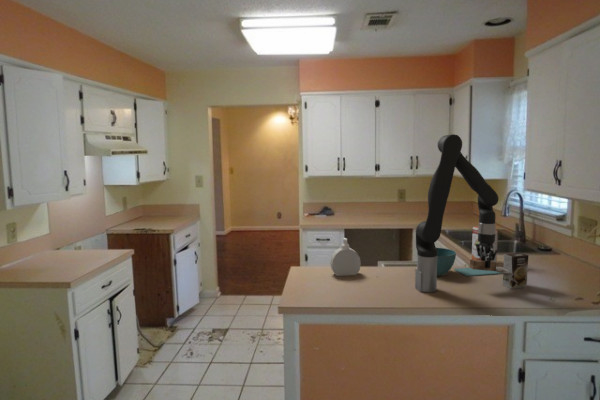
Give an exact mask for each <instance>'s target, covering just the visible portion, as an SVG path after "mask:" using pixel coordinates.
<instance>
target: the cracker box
mask: <svg viewBox="0 0 600 400" xmlns="http://www.w3.org/2000/svg"><path fill="white" fill-rule="evenodd" d="M498 233H499V230H496V231H495V242H494V243H493V249H494V250H497V251H498V239H499V237H498ZM471 236H472V241H471V243H472V245H471V259H472V260H481V258H480V256H478V253H477V248H476V244H479V243H480V242H479V241H478V226H473V227H472V235H471ZM479 249H480V248H479ZM479 252H480V251H479ZM488 254H490V253H488ZM497 254H498V252H497V253H496V256H495V258H494V260H492V261H493V262H495V263H497V259H498V255H497ZM488 257H489V256H488ZM491 258H492V257H491Z"/></svg>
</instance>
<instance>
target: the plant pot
mask: <svg viewBox="0 0 600 400" xmlns="http://www.w3.org/2000/svg"><path fill="white" fill-rule="evenodd" d="M436 249H437V277H439V276H445V275H447V273H449V272H450V271H451V269H452V267H453V266H454V263H455V260H456V256H457V255H456V254H457V252H456V251H455V250H453V249H449V248H444V247H436Z"/></svg>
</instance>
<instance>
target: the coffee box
mask: <svg viewBox="0 0 600 400" xmlns="http://www.w3.org/2000/svg"><path fill="white" fill-rule="evenodd" d="M503 255H504V256H503V266H502V268H504V269H507V270H509V271H510V273H503V274H502V286H504V287H506V288H509V289H512V290H514V289H521V288H522V289H523V288H527V287H528V270H529V268H528V266H529V255H528V254H525V253H521V252H510V253H504V254H503Z"/></svg>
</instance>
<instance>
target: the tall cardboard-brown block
mask: <svg viewBox="0 0 600 400" xmlns="http://www.w3.org/2000/svg"><path fill="white" fill-rule="evenodd" d="M497 264H498V263H497V262H496V263H495V262H493V261H491V262H490V268H485V261H482V260H472V258H471V259H470V260H469V267H468V268H471V269H476V270H487V271H496V272H498V273H510V271H509V270H507V269H504V268H503V266H497Z"/></svg>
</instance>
